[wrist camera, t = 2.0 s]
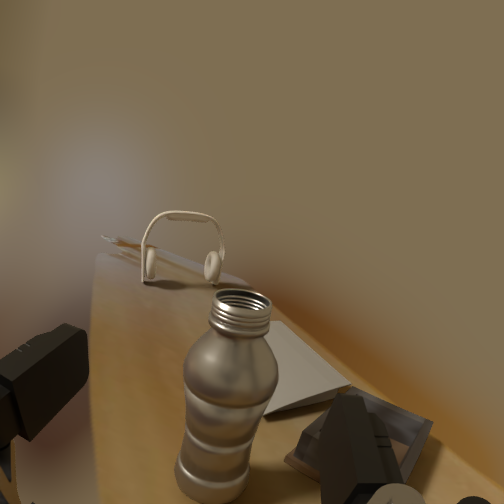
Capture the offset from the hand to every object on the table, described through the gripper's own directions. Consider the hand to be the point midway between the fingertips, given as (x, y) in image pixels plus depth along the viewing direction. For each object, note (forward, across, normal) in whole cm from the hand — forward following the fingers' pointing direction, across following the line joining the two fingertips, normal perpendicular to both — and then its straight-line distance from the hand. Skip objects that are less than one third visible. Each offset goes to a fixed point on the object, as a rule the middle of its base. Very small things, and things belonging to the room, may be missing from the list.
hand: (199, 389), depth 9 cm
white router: (+35, -5, +22) cm, 42 cm away
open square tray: (+18, -16, +21) cm, 32 cm away
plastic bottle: (+11, 0, +21) cm, 24 cm away
